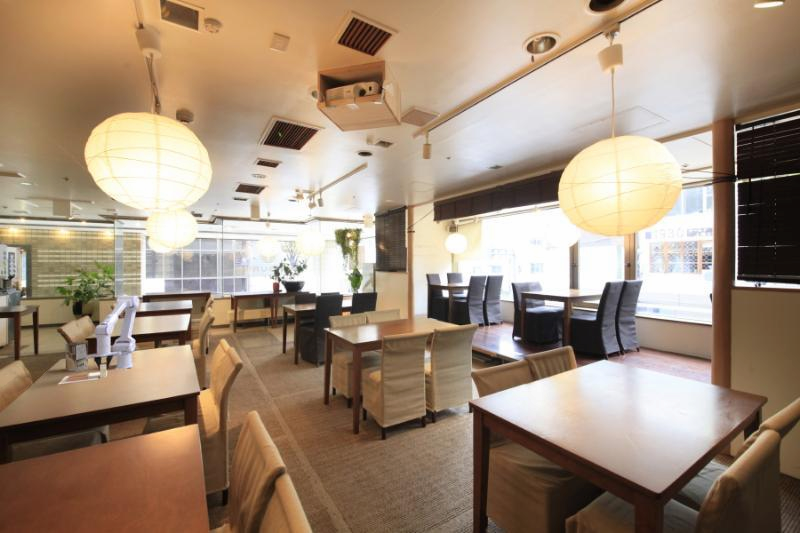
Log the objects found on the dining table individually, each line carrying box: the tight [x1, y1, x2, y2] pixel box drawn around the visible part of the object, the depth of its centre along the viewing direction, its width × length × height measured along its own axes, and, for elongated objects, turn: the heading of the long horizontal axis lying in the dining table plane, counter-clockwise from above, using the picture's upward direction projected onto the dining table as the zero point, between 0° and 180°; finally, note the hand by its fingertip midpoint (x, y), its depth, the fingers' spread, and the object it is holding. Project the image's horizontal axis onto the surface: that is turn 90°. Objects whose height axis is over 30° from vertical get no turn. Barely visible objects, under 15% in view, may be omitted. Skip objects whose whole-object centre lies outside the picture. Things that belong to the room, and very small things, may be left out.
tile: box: [67, 372, 89, 382], centre depth 186 cm, size 2×8×6 cm
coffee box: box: [64, 341, 89, 372], centre depth 201 cm, size 9×6×16 cm
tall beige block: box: [99, 361, 109, 379], centre depth 190 cm, size 6×2×8 cm, turn 32°
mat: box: [57, 371, 100, 385], centre depth 187 cm, size 14×16×1 cm
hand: (103, 369), depth 190 cm, fingers closed on tall beige block, 2 cm apart
